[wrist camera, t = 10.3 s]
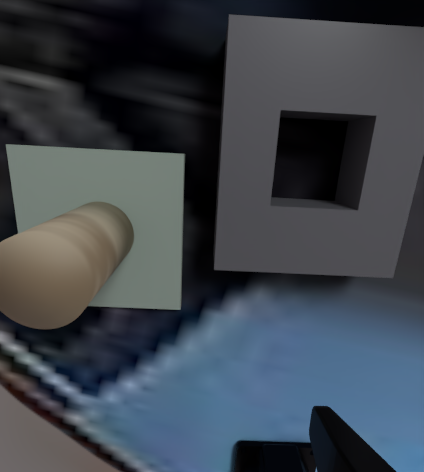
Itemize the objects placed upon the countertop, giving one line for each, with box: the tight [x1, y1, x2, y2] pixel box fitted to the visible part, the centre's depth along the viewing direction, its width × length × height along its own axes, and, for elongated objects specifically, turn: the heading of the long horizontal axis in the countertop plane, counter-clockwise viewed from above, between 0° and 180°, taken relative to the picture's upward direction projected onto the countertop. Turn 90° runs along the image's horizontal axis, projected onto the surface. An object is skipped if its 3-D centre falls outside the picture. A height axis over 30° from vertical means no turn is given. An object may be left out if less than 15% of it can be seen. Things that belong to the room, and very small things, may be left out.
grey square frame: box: [213, 15, 424, 278], centre depth 16 cm, size 12×10×3 cm
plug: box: [0, 202, 134, 329], centre depth 15 cm, size 4×4×7 cm
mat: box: [6, 144, 185, 310], centre depth 18 cm, size 10×10×1 cm
